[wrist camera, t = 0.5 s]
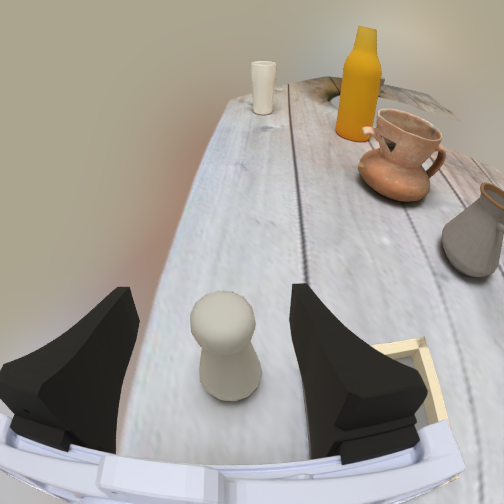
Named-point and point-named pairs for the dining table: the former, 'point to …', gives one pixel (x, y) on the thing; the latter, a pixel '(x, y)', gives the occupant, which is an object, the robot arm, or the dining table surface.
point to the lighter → (381, 83)
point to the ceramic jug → (401, 155)
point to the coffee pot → (477, 234)
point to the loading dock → (420, 359)
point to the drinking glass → (263, 86)
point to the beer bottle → (359, 87)
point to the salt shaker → (226, 345)
